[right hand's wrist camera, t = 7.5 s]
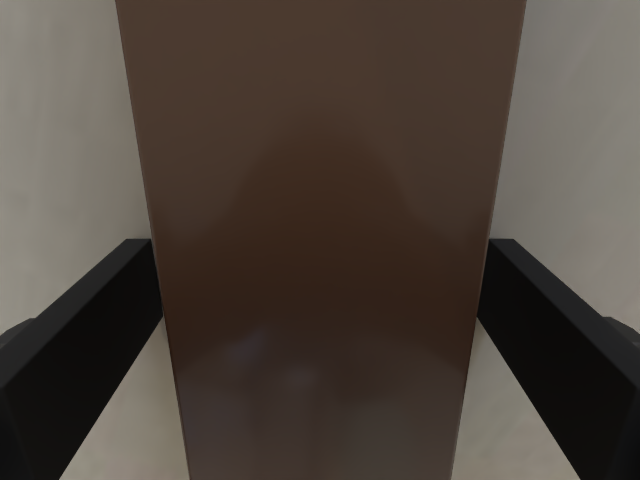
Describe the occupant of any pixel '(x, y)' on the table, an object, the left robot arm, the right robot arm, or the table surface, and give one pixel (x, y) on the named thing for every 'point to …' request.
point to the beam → (320, 222)
